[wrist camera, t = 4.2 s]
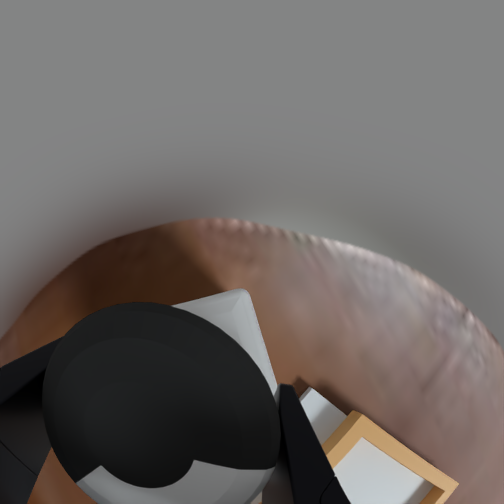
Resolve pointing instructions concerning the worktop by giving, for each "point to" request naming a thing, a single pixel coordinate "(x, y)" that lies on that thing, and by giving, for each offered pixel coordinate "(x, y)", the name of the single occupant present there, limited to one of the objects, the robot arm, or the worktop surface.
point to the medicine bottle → (165, 403)
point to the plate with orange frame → (371, 459)
